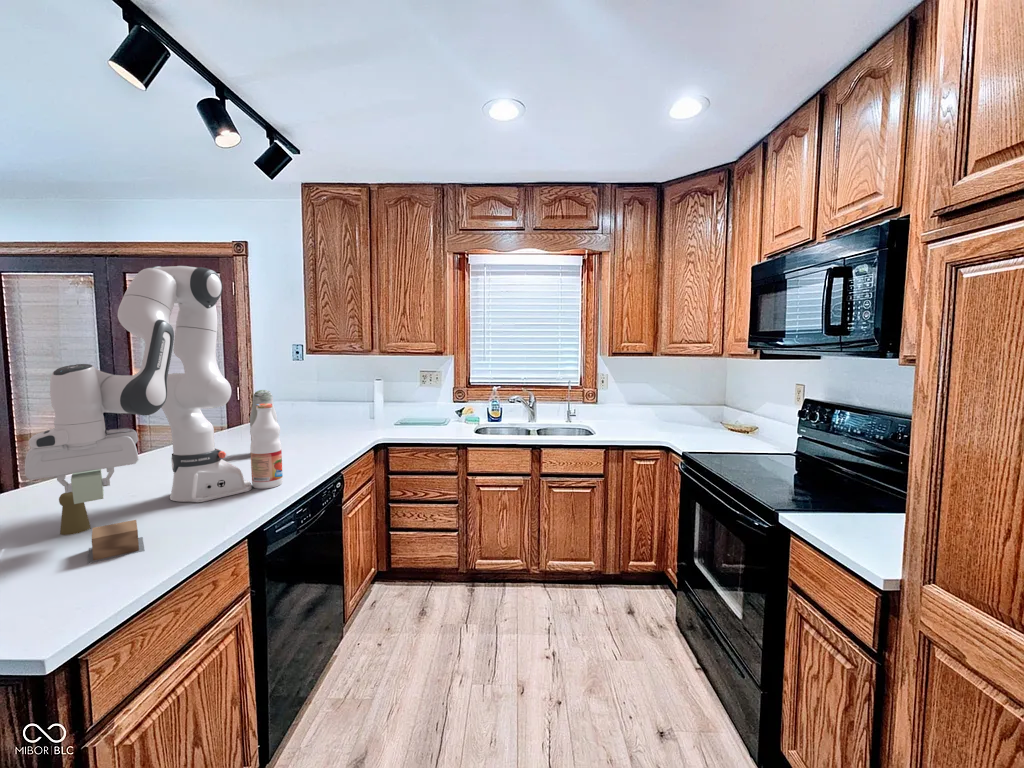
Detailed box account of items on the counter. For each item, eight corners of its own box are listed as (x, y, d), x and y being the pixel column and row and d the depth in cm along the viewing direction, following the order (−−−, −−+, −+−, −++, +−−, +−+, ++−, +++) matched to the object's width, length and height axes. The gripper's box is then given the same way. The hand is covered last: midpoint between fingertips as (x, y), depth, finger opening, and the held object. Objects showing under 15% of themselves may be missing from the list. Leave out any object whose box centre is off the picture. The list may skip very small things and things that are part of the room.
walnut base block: (137, 539, 116) (136, 519, 116) (139, 550, 110) (137, 529, 110) (94, 548, 111) (92, 527, 111) (93, 560, 105) (91, 538, 105)
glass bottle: (246, 455, 203) (243, 390, 200) (268, 450, 212) (266, 388, 209) (261, 457, 198) (258, 391, 196) (283, 452, 208) (280, 389, 205)
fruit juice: (250, 483, 164) (247, 403, 161) (280, 479, 169) (277, 401, 166) (253, 491, 156) (249, 407, 153) (284, 486, 161) (281, 404, 158)
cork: (97, 528, 125) (94, 487, 124) (77, 538, 119) (74, 495, 118) (74, 528, 125) (70, 487, 124) (52, 538, 119) (48, 495, 117)
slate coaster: (142, 539, 118) (142, 536, 118) (144, 554, 110) (144, 550, 110) (89, 551, 111) (88, 548, 111) (87, 567, 104) (87, 563, 104)
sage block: (103, 490, 119) (100, 467, 118) (103, 498, 114) (100, 474, 113) (75, 495, 116) (72, 472, 115) (74, 504, 111) (70, 479, 110)
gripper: (136, 424, 122) (141, 476, 124) (23, 437, 109) (31, 494, 111) (137, 428, 117) (143, 482, 119) (19, 442, 104) (27, 502, 106)
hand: (88, 488), depth 115 cm, fingers closed on sage block, 5 cm apart
